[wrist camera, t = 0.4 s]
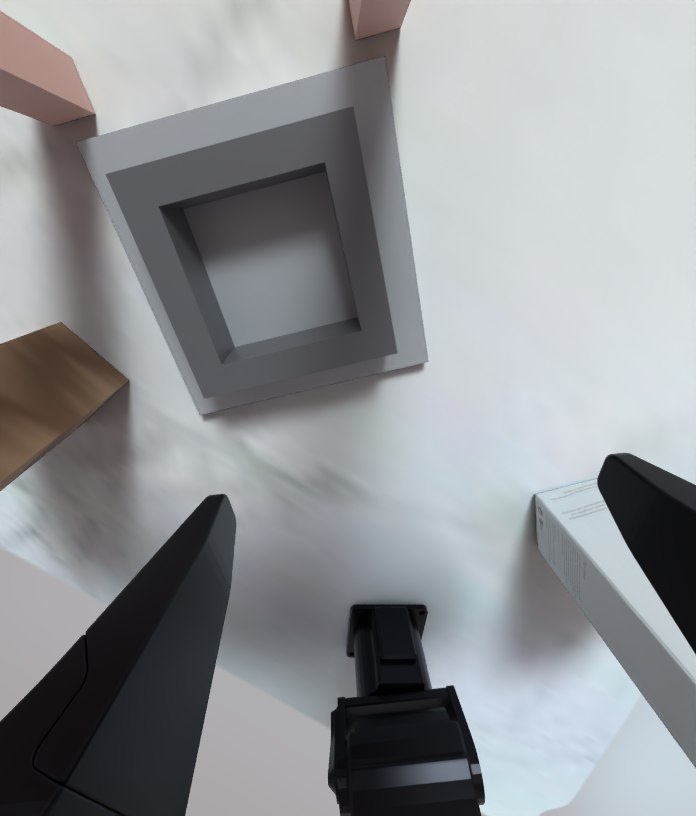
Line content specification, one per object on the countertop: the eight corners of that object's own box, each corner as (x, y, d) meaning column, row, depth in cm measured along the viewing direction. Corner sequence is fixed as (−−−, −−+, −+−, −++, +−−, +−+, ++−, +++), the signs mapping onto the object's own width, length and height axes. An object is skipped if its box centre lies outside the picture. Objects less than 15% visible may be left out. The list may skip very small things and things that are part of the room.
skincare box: (534, 546, 30) (699, 800, 17) (531, 487, 28) (723, 732, 14) (642, 522, 30) (899, 765, 16) (649, 460, 27) (962, 689, 14)
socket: (425, 357, 23) (442, 380, 20) (203, 409, 24) (183, 440, 20) (382, 62, 17) (396, 22, 13) (85, 145, 18) (27, 126, 14)
